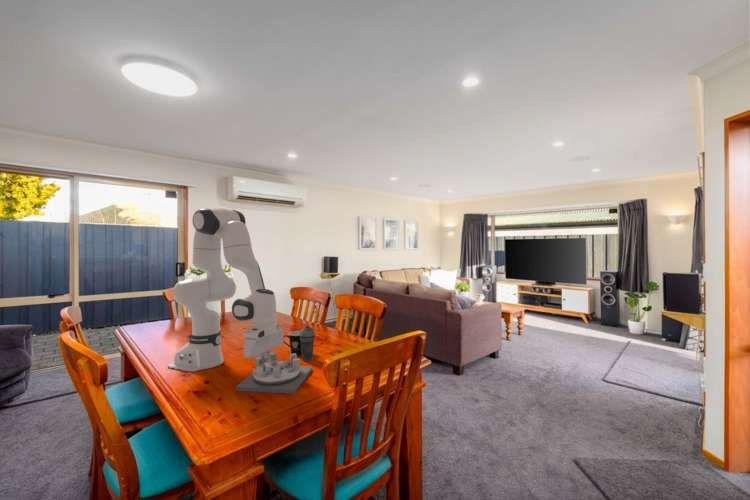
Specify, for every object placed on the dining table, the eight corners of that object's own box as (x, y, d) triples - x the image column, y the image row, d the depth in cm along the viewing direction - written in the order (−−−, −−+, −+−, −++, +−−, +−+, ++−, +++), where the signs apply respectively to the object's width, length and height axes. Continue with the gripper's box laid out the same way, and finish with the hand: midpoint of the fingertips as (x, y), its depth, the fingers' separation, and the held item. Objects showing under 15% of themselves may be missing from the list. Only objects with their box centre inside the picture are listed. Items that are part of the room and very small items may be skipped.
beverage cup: (311, 363, 146) (311, 319, 145) (296, 361, 147) (296, 318, 147) (317, 357, 153) (317, 316, 152) (303, 356, 154) (303, 315, 154)
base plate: (236, 390, 118) (236, 386, 118) (263, 368, 140) (263, 364, 140) (293, 393, 115) (293, 389, 115) (311, 370, 137) (311, 366, 137)
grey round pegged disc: (270, 390, 115) (270, 372, 115) (242, 377, 125) (242, 361, 125) (309, 373, 130) (309, 357, 130) (282, 363, 140) (281, 348, 140)
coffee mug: (310, 352, 160) (310, 332, 160) (297, 357, 153) (297, 336, 153) (293, 348, 167) (293, 329, 166) (281, 353, 159) (280, 333, 159)
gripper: (275, 322, 142) (275, 353, 142) (240, 334, 123) (240, 370, 123) (287, 323, 139) (287, 355, 140) (253, 335, 120) (253, 372, 121)
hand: (265, 362), depth 131 cm, fingers closed
